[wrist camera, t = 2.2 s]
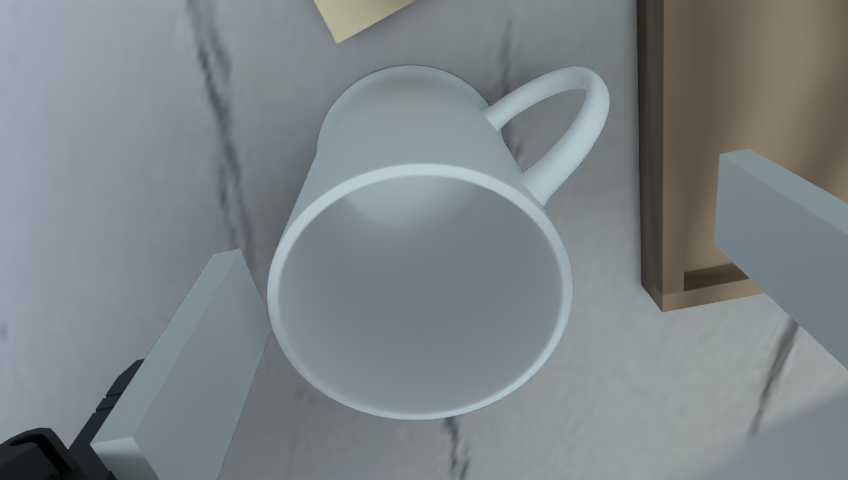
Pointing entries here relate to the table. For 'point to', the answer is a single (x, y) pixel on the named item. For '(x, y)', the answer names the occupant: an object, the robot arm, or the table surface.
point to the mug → (427, 245)
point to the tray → (730, 123)
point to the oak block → (355, 14)
